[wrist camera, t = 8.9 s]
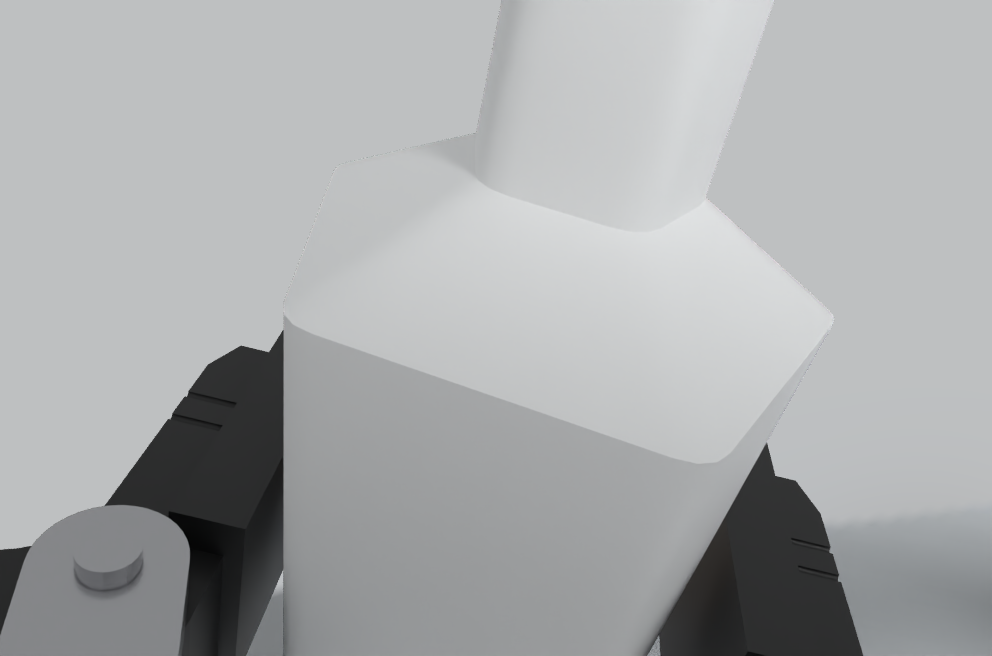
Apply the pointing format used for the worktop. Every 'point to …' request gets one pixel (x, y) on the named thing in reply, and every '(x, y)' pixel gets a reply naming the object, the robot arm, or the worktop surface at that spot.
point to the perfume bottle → (535, 351)
